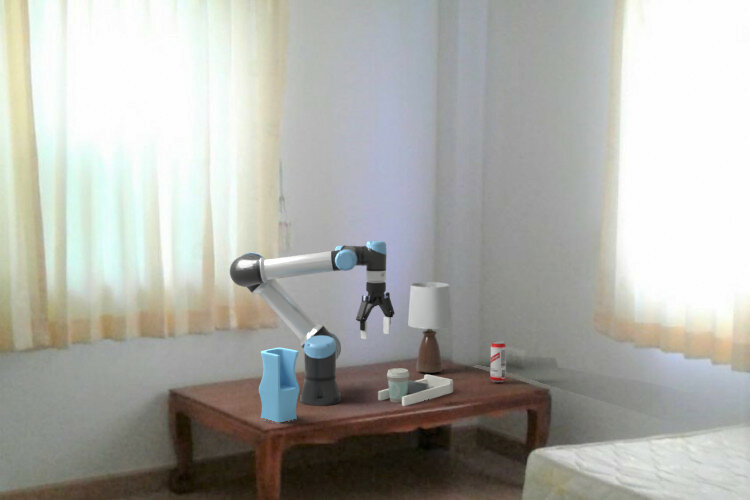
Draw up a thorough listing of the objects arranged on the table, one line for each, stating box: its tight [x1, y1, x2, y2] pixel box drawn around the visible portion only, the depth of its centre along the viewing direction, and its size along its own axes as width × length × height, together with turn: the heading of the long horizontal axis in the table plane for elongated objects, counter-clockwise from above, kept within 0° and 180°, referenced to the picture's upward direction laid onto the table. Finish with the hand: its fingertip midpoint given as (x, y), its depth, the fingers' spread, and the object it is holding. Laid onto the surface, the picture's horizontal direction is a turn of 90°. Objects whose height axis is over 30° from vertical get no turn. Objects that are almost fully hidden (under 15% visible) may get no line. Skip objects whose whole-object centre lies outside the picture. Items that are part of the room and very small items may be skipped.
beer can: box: [489, 340, 507, 383], centre depth 371 cm, size 6×6×16 cm
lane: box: [377, 373, 454, 407], centre depth 347 cm, size 29×13×5 cm, turn 137°
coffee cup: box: [386, 367, 410, 404], centre depth 339 cm, size 8×8×12 cm
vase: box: [258, 347, 300, 422], centre depth 312 cm, size 10×10×25 cm
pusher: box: [407, 379, 434, 395], centre depth 351 cm, size 10×9×5 cm
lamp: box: [407, 281, 452, 374], centre depth 389 cm, size 19×19×37 cm
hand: (375, 336), depth 349 cm, fingers open, 13 cm apart
